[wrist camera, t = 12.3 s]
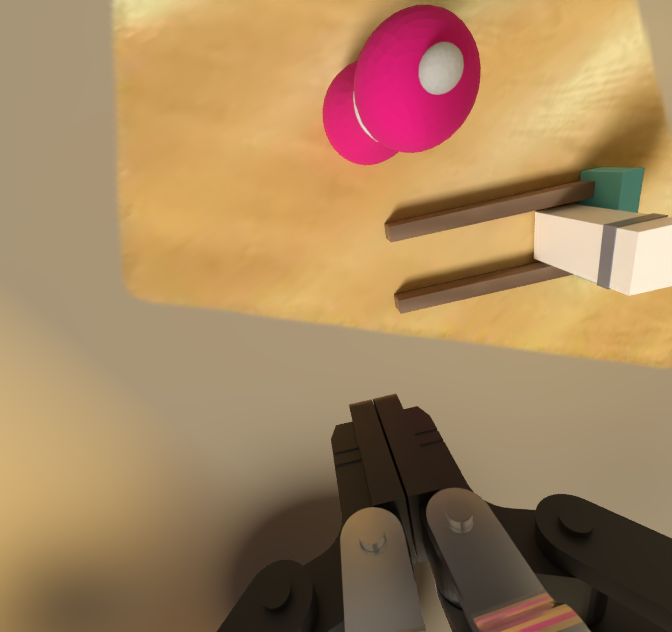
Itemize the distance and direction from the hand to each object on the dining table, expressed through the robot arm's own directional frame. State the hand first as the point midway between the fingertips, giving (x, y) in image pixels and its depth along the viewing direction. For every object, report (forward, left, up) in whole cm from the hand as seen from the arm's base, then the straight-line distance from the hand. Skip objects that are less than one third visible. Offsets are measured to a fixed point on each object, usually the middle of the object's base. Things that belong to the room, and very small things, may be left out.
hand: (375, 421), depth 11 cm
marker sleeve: (+4, +25, -27) cm, 37 cm away
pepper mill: (-10, +6, -27) cm, 30 cm away
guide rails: (+4, +18, -27) cm, 33 cm away
